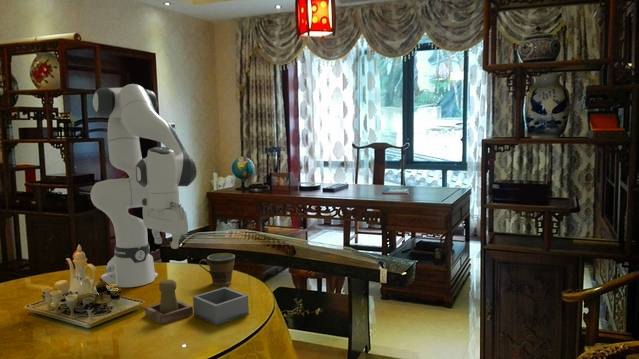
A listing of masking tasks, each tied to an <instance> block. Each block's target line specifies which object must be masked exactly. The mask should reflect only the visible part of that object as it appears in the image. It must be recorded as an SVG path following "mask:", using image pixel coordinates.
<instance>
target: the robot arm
mask: <svg viewBox="0 0 639 359" xmlns="http://www.w3.org/2000/svg"><path fill="white" fill-rule="evenodd" d="M92 107H93V109H94V112H95V113H96V114H97V116H99V117H102V118H108V122H107V134H106V135H107V146H108V157H109V158H108V159H109V162H110V165H112V166H113V167H114V168H115V169H117V170H120V171H123V172H124V173H126V174H127V175H128V176H129V177H127V178H126V177H125V178H111V179H105V180H102V181H97V182H95V184H94V185H93V186H92V188H91V190H90V199H91V202H92V205H93V206H94V207H96V209H99V210H100V211H102V212H103V213H104V214H105V215H106V216H107V217H108V218H109V219H110V221H111V223H112V225H113V230H114V235H115V245H113V247H114V250H113V252H114V255H113V257H111V259H110V260H109V261H108V262H107V265H106V266H105V268H104V269H105V273H104V274H102V275H101V276H100V278H101V280H102V281H103V282H104V281H105V282H107V283H109V284H117V286H118V287H117V288H134V287H136V288H137V287H141V286H145V285H148V284H151V283H152V282H154V281H155V279H156V278H158V277H159V273H158V272H156V270H155V265H154V257H153V255H152V254H150V251H151V250H150V243H149V241H148V240H149V239H148V229H150V230H151V233H152V236H153V238H154V244H156V245H161V244H162V243H163V237H161V233H166V234H169V235H171V238H172V242H170V248H171V249H174V250H175V249H179V247H180V246H179V243H180V240H181V236H184V235H187V234H188V233H189V224H188V222H189V221H188V217H187V216H188V215H187V212H186V210H185V208H184V207H183V206H182V203H180V194H179V193H180V190H179V187H189V186H190V185H191V184H192V183H193V182H194V181H195V179H196V178H197V174H198V173H197V172H198V171H197V165H196V162H195V161H194V160H193V158H192V157H191V156H190V155H189V153H188V152H187V150H186V149H185V147H184V145H183V143H182V142H181V140H180V137H179V136H178V134H177V133H176V131H175V130H174V128H173V126H172V125H171V123H170V122H169V121H167V120H166V119H164V118H162V117H161V115H159V113H157V108H158V99H157V95H156V93H155V92H154V91H152V90H150V89H146V88H144V87H143V86H141V85H139V84H137V83H136V84H135V83H131V84H129V83H128V84H126V85H125V86H123V87H107V86H106V87H101V88H98V89H96V90H95V91H94V95H93V97H92ZM140 138H143V139H147V140H148V139H149V140H152V141H155V142H158V143H161V144H162V145H164V146H155V147H151V148H149V149H148V150H147V156H146V157H145V158H143V156H142V150H141V143H140ZM133 208H142V218H143V219H142V218H140V217H137V216H135V215H133V214H130V213H129V209H133ZM160 232H161V233H160ZM105 282H104V283H105Z"/></svg>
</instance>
